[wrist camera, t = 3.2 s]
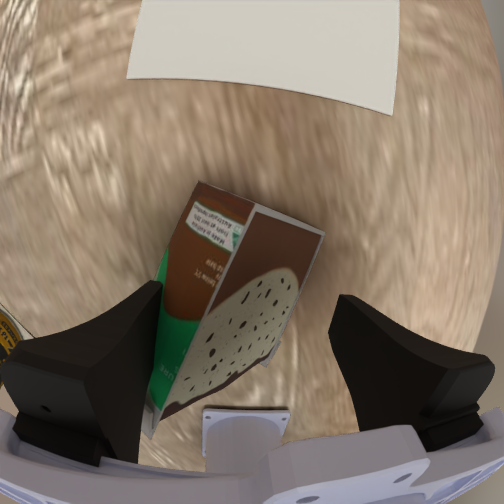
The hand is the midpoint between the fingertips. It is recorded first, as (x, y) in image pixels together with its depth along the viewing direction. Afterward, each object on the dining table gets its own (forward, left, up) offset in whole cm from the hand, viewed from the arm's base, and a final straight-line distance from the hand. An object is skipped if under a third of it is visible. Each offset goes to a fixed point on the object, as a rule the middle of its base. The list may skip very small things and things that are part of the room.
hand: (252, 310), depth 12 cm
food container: (+4, 0, -4) cm, 6 cm away
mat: (+17, 0, -7) cm, 18 cm away
